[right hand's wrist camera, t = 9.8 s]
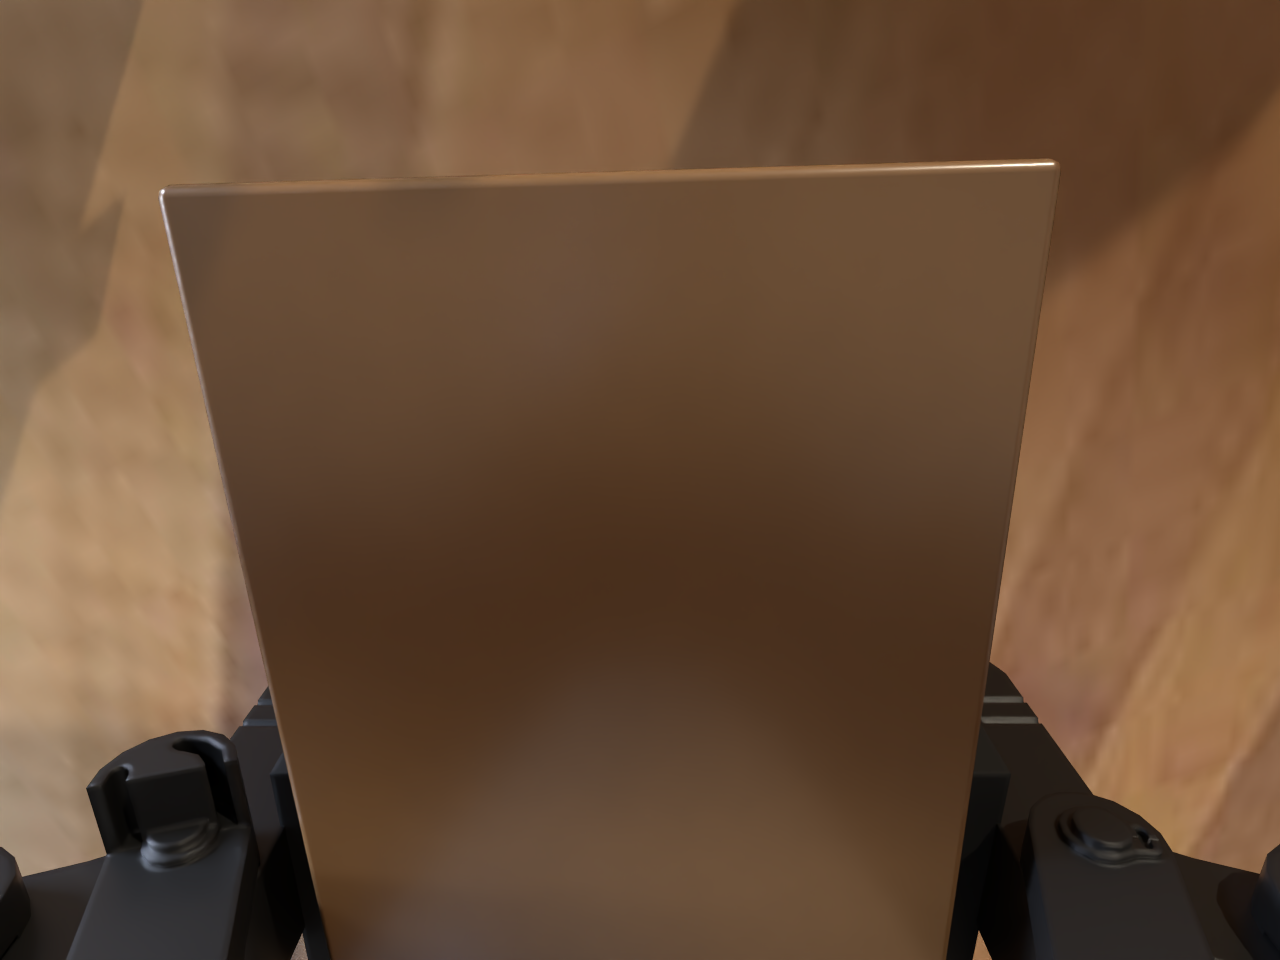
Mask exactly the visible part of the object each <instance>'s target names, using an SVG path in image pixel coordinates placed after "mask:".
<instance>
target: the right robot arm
mask: <svg viewBox="0 0 1280 960" xmlns="http://www.w3.org/2000/svg"><path fill="white" fill-rule="evenodd" d="M86 789H87V793H88V796H89V799H90V802H91V805H92V808H93V812H94V815H95V818H96V821H97V824H98V828H99V831H100V834H101V837H102V840H103V844H104V847H105V850H106V853H107V855H106V856H104V857H101V858H97V859H94V860H91V861H88V862H83V863H79V864H75V865H71V866H66V867H62V868H58V869H54V870H50V871H45V872H41V873H37V874H33V875H29V876H24V877H22V876H21V873H20V871H19V868H18V865H17V862H16V860H15V857H14V856H12V855H11V854H10V853H9V852H7V851H6V850H5V849H4V848H2V847H0V960H290V959H291V957H292V955H293V953H294V950H295V948H296V946H297V943H298V941H299V939H300V937H301V934H302V933H303V937H304V942H305V947H306V952H307V957H308V960H330V956H329V951H328V947H327V943H326V938H325V934H324V929H323V925H322V920H321V916H320V912H319V907H318V903H317V898H316V894H315V889H314V885H313V881H312V876H311V872H310V867H309V863H308V858H307V854H306V850H305V845H304V841H303V836H302V832H301V827H300V823H299V819H298V814H297V810H296V805H295V801H294V796H293V792H292V788H291V783H290V779H289V774H288V770H287V765H286V761H285V757H284V752H283V748H282V743H281V739H280V734H279V730H278V726H277V721H276V717H275V712H274V708H273V703H272V699H271V695H270V690H269V686H268V687H267V689H266V690H265V691H264V693H263V694H262V696H261V697H260V698H259V700H258V705H254V707H253V708H252V710H251V711H250V712H249V714H248V715H247V716H246V718H245V719H244V721H243V726H239V728H238V729H237V730H236V732H235V733H234V735H233V736H232V737H231V739H230V740H229V739H228V738H227V737H226V736H224V735H223V734H218V733H214V732H210V731H205V730H198V731H182V732H175V733H172V734H168V735H164V736H161V737H157V738H153V739H150V740H148V741H146V742H144V743H141V744H139V745H137V746H135V747H133V748H131V749H129V750H127V751H125V752H123V753H121V754H120V755H119V756H117V757H116V758H115V759H113V760H112V761H111V762H109V763H108V764H107V765H105V766H104V767H103V768H101V769H100V770H99V772H98V773H97V774H96V776H95V777H94V778H93V780H92V781H91V782H90V784H89V785H88V786H87V788H86ZM978 931H980V934H981V936H982V938H983V940H984V943H985V945H986V947H987V949H988V952H989V954H990V956H991V958H992V960H1280V844H1279V845H1278V846H1277V847H1276V848H1274V849H1273V850H1272V851H1271V852H1269V853H1268V854H1267V857H1266V859H1265V862H1264V865H1263V867H1262V870H1261V873H1260V874H1258V873H1253V872H1249V871H1245V870H1241V869H1237V868H1232V867H1228V866H1224V865H1220V864H1215V863H1211V862H1207V861H1203V860H1199V859H1194V858H1191V857H1188V856H1184V855H1181V854H1178V853H1175V852H1172V850H1171V849H1170V847H1169V846H1168V844H1167V843H1166V841H1165V839H1164V838H1163V836H1162V835H1161V833H1160V832H1158V831H1157V830H1156V829H1155V828H1154V827H1153V826H1151V825H1150V824H1149V823H1148V822H1147V821H1146V820H1144V819H1143V818H1142V817H1141V816H1140V815H1138V814H1136V813H1134V812H1132V811H1131V810H1129V809H1127V808H1125V807H1123V806H1121V805H1120V804H1118V803H1116V802H1114V801H1111V800H1108V799H1105V798H1101V797H1098V796H1095V795H1093V794H1092V792H1091V791H1090V790H1089V788H1088V787H1087V785H1086V784H1085V783H1084V781H1083V780H1082V779H1081V777H1080V776H1079V774H1078V773H1077V772H1076V770H1075V769H1074V767H1073V766H1072V765H1071V763H1070V762H1069V761H1068V759H1067V758H1066V756H1065V755H1064V754H1063V752H1062V751H1061V749H1060V748H1059V747H1058V745H1057V744H1056V743H1055V741H1054V740H1053V738H1052V737H1051V736H1050V734H1049V733H1048V731H1047V730H1046V729H1045V727H1044V726H1043V725H1042V724H1039V723H1038V718H1037V716H1036V715H1035V713H1034V712H1033V711H1032V709H1031V708H1030V707H1029V705H1028V704H1027V703H1024V702H1023V697H1022V696H1021V694H1020V693H1019V691H1018V690H1017V689H1016V687H1015V686H1014V684H1013V683H1012V682H1011V680H1010V679H1009V678H1008V676H1007V675H1006V673H1004V672H1003V671H1002V670H1000V669H999V668H997V667H996V666H994V665H993V664H992V663H990V662H989V668H988V675H987V681H986V688H985V695H984V702H983V709H982V716H981V722H980V729H979V736H978V743H977V750H976V757H975V764H974V770H973V777H972V784H971V791H970V798H969V805H968V812H967V818H966V825H965V832H964V839H963V846H962V853H961V860H960V866H959V873H958V880H957V887H956V894H955V901H954V908H953V914H952V921H951V928H950V935H949V942H948V949H947V956H946V960H973V955H974V950H975V945H976V940H977V936H978Z"/></svg>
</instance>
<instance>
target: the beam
mask: <svg viewBox="0 0 1280 960" xmlns="http://www.w3.org/2000/svg"><path fill="white" fill-rule="evenodd" d="M1060 174H1061V169H1060V164H1059V163H1058V162H1057V161H1055V160H1052V159H1050V158H1043V159H1010V160H977V161H944V162H911V163H878V164H845V165H812V166H779V167H746V168H713V169H679V170H646V171H613V172H580V173H547V174H514V175H481V176H448V177H415V178H382V179H349V180H316V181H283V182H250V183H216V184H183V185H168V186H166V187H164V188H162V189H161V190H160V191H159V198H158V199H159V203H160V208H161V212H162V216H163V221H164V225H165V230H166V234H167V239H168V243H169V247H170V252H171V256H172V261H173V265H174V270H175V274H176V278H177V283H178V287H179V292H180V296H181V301H182V305H183V309H184V314H185V318H186V323H187V327H188V332H189V336H190V340H191V345H192V349H193V354H194V358H195V363H196V367H197V371H198V376H199V380H200V385H201V389H202V394H203V398H204V402H205V407H206V411H207V416H208V420H209V425H210V429H211V433H212V438H213V442H214V447H215V451H216V456H217V460H218V464H219V469H220V473H221V478H222V482H223V486H224V491H225V495H226V500H227V504H228V509H229V513H230V517H231V522H232V526H233V531H234V535H235V540H236V544H237V548H238V553H239V557H240V562H241V566H242V571H243V575H244V579H245V584H246V588H247V593H248V597H249V602H250V606H251V610H252V615H253V619H254V624H255V628H256V633H257V637H258V641H259V646H260V650H261V655H262V659H263V664H264V668H265V672H266V677H267V681H268V686H269V690H270V695H271V699H272V703H273V708H274V712H275V717H276V721H277V726H278V730H279V734H280V739H281V743H282V748H283V752H284V757H285V761H286V765H287V770H288V774H289V779H290V783H291V788H292V792H293V796H294V801H295V805H296V810H297V814H298V819H299V823H300V827H301V832H302V836H303V841H304V845H305V850H306V854H307V858H308V863H309V867H310V872H311V876H312V881H313V885H314V889H315V894H316V898H317V903H318V907H319V912H320V916H321V920H322V925H323V929H324V934H325V938H326V943H327V947H328V951H329V956H330V960H946V956H947V949H948V942H949V935H950V928H951V921H952V914H953V908H954V901H955V894H956V887H957V880H958V873H959V866H960V860H961V853H962V846H963V839H964V832H965V825H966V818H967V812H968V805H969V798H970V791H971V784H972V777H973V770H974V764H975V757H976V750H977V743H978V736H979V729H980V722H981V716H982V709H983V702H984V695H985V688H986V681H987V675H988V668H989V661H990V654H991V647H992V640H993V633H994V627H995V620H996V613H997V606H998V599H999V592H1000V585H1001V579H1002V572H1003V565H1004V558H1005V551H1006V544H1007V537H1008V531H1009V524H1010V517H1011V510H1012V503H1013V496H1014V489H1015V483H1016V476H1017V469H1018V462H1019V455H1020V448H1021V441H1022V435H1023V428H1024V421H1025V414H1026V407H1027V400H1028V393H1029V387H1030V380H1031V373H1032V366H1033V359H1034V352H1035V345H1036V339H1037V332H1038V325H1039V318H1040V311H1041V304H1042V298H1043V291H1044V284H1045V277H1046V270H1047V263H1048V256H1049V250H1050V243H1051V236H1052V229H1053V222H1054V215H1055V208H1056V202H1057V195H1058V188H1059V181H1060Z"/></svg>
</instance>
